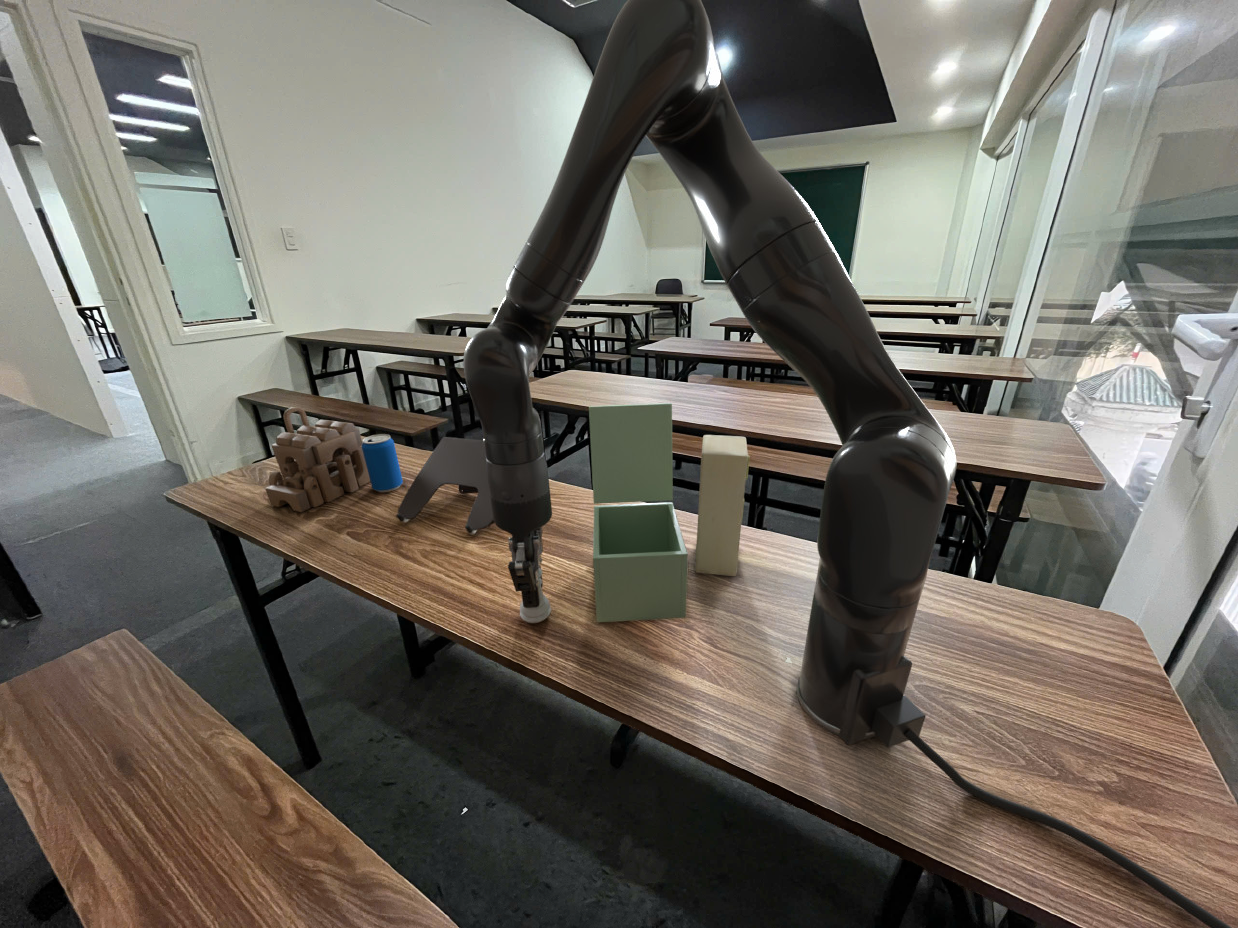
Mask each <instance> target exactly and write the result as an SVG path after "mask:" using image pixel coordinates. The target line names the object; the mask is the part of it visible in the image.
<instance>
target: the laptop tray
mask: <svg viewBox="0 0 1238 928" xmlns="http://www.w3.org/2000/svg"><path fill="white" fill-rule="evenodd" d="M445 485H454V486H458V492H459V493H460V494H461V495H469V494H477V495H476V497H475V499H474V502H473V504H472V506H471V509H470V512H469V515H468V518H467V520H466V524H465V525H464V529H465V530H466V531H467V532H468V534H469V535H471V536H474V535H475V534H476V533H477V531H479V530H484V529H486V528H489V527H491V526H492V525H495V523H494V518H493V512H492V506H491V499H490V492H489V486H488V480H487V460H486V453H485V446H484V440H480V439H469V438H460V437H459V438H458V437H450V436H443V437H442V438H441V440H440V441H439V442H438V444H437V445H436V447H435V448H434V450H433V451H432V453H431V454H430V456H429V457H428V458H427V460H426V461H425V463H424V464H423V465H422V468H421V469H420V470H419V472H418V474H417V475H416V477H415V478H414V480H413V482H412V483H411V485H410V486H409V488H408V490H407V492H406V493H405V495H404V497H403V499H402V500H401V503H400V504H399V506H398V509H397V514H396V516H395V517H396V518H397V520H399V522H401V524H407V523H408V522H409V521H410V520H414V519H415V518H416V517H417V516H418V515H419V514H420V512H421V511H422V510H423V509H424V508H425V507H426V505H427V504H428V503H429V502H430V500H431V499H432V498H433V496H434V495H435V494H436V492H437V491H438V490H439V489H440V488H441V487H442V486H445Z"/></svg>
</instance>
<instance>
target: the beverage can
mask: <svg viewBox="0 0 1238 928" xmlns="http://www.w3.org/2000/svg"><path fill="white" fill-rule="evenodd" d="M362 443H363V444H362V446H361V447H362V450H363V454H364V458H365V462H366V466H367V470H368V474H369V477H370V485H371V488H372V490H373V491H377V492H378V493H389V492H393V491H395V490H398V489H399V488H400V487H401V486H402V485H403V483H404V480H403V476H402V471H401V468H400V467H401V466H400V463H399V459H398V454H397V450H396V446H395V441H394V440H393V438H391V435H390V434H386V433H379V434H372V435H368V436H366V437H364V438H363V439H362Z"/></svg>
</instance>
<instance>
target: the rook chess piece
mask: <svg viewBox="0 0 1238 928" xmlns="http://www.w3.org/2000/svg"><path fill="white" fill-rule="evenodd" d="M543 573H544V572H543V569H542V568H541V569H540V568H539V569H538V570H537V577H538V590H539V598H540V604H539V606H538V607H535V608H525V607H524V606H523V601H522V600H521V603H520V604H519V617H520V618H521V619H522V620H523V621H525V622H526V623H529V624H538V623H541V622H543V621H545V620H546V619H547V618H548V617H549V616H550V614H551V613H552V607H551V603H550V599H548V597H547V596H546V595H545V594H544V592H543V587H542V588H541V583H542V581H543V579H542V580H541V579H540V577H541V575H542V576H543Z"/></svg>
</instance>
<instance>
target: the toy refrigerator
mask: <svg viewBox="0 0 1238 928" xmlns="http://www.w3.org/2000/svg"><path fill="white" fill-rule="evenodd" d="M750 457H751V456H750V454H748V444H747V438H746V437H745V436H739V435H716V434H704V435H703V437H702V446H701V456H700V474H699V491H698V492H699V493H698V509H697V513H698V514H697V526H696V527H697V529H696V544H695V545H696V546H695V547H696V548H695V564H694V565H695V566H694V572H695V573H698V574H707V575H709V574H710V575H717V576H726V577H736V576H737V573H738V563H739V551H740V542H741V531H742V522H743V518H744V516H743V515H744V510H745V509H744V508H745V488H746V480H748V478H749V477H748V476H749V470H750V469H749V467H750Z"/></svg>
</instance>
